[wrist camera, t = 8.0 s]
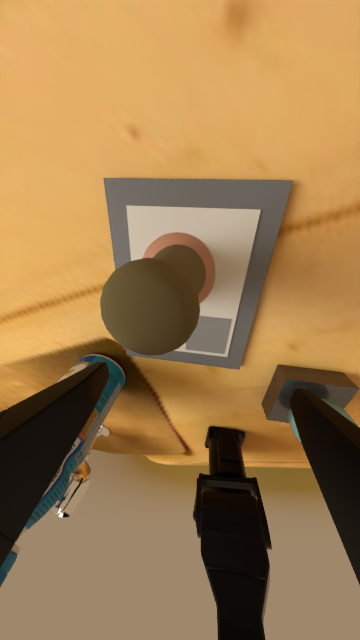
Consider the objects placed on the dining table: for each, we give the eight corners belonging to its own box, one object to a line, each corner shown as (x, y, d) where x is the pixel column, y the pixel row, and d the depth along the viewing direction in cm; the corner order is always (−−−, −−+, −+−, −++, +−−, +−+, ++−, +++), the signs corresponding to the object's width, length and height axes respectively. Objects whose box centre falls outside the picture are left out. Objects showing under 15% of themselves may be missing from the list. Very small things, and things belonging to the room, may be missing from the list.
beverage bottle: (130, 392, 28) (5, 647, 11) (85, 385, 29) (-98, 611, 11) (124, 354, 25) (-84, 654, 7) (73, 348, 25) (-229, 599, 8)
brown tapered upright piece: (196, 234, 15) (181, 222, 5) (212, 294, 17) (223, 362, 8) (140, 256, 17) (49, 279, 7) (162, 308, 19) (117, 381, 9)
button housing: (316, 411, 24) (327, 429, 22) (261, 403, 25) (267, 419, 23) (343, 372, 21) (359, 388, 18) (278, 364, 22) (286, 378, 19)
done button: (329, 433, 21) (341, 451, 19) (280, 425, 21) (287, 442, 19) (354, 403, 18) (371, 421, 16) (297, 395, 18) (307, 411, 17)
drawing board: (238, 365, 22) (239, 371, 22) (129, 351, 24) (125, 356, 23) (288, 183, 13) (295, 179, 12) (108, 180, 15) (101, 176, 14)
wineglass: (83, 422, 35) (30, 502, 24) (105, 421, 34) (58, 505, 23) (96, 437, 37) (52, 516, 27) (117, 437, 36) (80, 520, 25)
